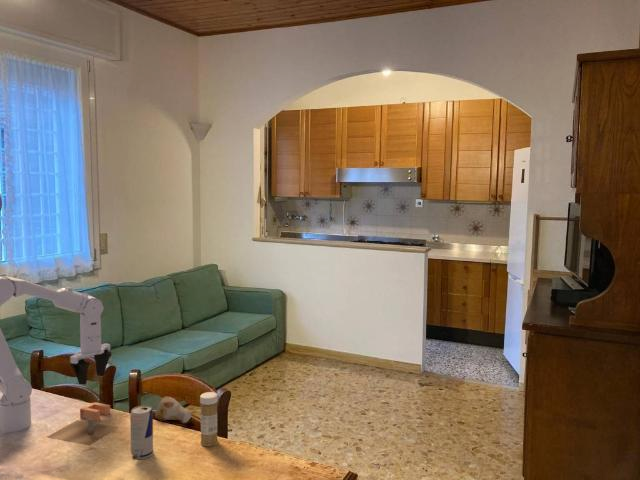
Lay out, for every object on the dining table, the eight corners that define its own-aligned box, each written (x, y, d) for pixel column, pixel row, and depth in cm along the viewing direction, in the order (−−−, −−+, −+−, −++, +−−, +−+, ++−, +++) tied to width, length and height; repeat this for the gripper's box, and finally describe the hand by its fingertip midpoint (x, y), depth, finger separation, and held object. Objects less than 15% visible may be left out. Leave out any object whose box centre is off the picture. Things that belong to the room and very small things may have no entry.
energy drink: (157, 451, 131) (157, 406, 130) (143, 461, 126) (143, 415, 125) (140, 448, 133) (139, 403, 132) (126, 458, 128) (125, 411, 127)
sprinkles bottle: (215, 438, 139) (215, 390, 138) (219, 445, 135) (219, 396, 134) (198, 440, 138) (198, 392, 136) (201, 448, 133) (201, 398, 132)
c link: (80, 420, 148) (80, 408, 147) (94, 413, 153) (93, 402, 152) (96, 424, 146) (96, 412, 145) (110, 416, 151) (110, 404, 150)
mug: (187, 429, 145) (169, 400, 144) (163, 437, 149) (144, 410, 147) (200, 412, 152) (182, 385, 150) (176, 421, 156) (159, 394, 154)
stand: (46, 442, 135) (46, 422, 135) (77, 425, 146) (76, 406, 145) (89, 450, 131) (89, 430, 131) (118, 432, 142) (118, 413, 141)
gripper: (83, 343, 145) (84, 389, 146) (118, 331, 159) (118, 373, 160) (64, 341, 147) (65, 386, 149) (99, 329, 161) (100, 370, 162)
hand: (91, 379), depth 155 cm, fingers open, 7 cm apart
